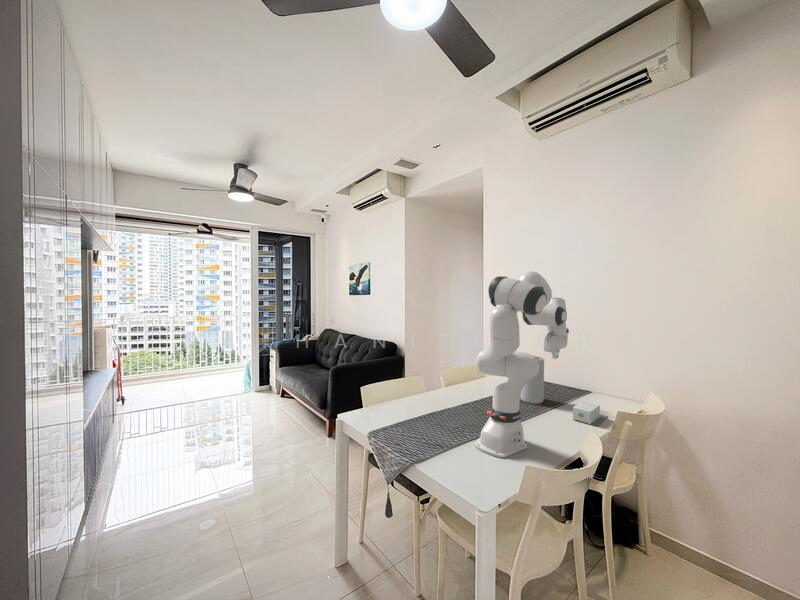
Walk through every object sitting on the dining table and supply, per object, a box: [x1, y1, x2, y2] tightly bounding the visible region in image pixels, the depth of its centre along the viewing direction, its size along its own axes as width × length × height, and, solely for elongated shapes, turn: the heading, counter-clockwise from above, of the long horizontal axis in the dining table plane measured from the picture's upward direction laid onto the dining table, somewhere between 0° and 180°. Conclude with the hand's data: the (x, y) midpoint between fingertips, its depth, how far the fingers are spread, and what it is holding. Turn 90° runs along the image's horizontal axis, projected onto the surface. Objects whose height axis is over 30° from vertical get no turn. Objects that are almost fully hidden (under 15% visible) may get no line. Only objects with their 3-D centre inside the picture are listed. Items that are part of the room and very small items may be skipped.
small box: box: [572, 400, 601, 425], centre depth 158 cm, size 8×6×13 cm
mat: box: [576, 414, 608, 427], centre depth 158 cm, size 16×9×1 cm, turn 133°
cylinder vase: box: [520, 355, 545, 405], centre depth 184 cm, size 12×12×25 cm
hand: (555, 358), depth 155 cm, fingers closed
